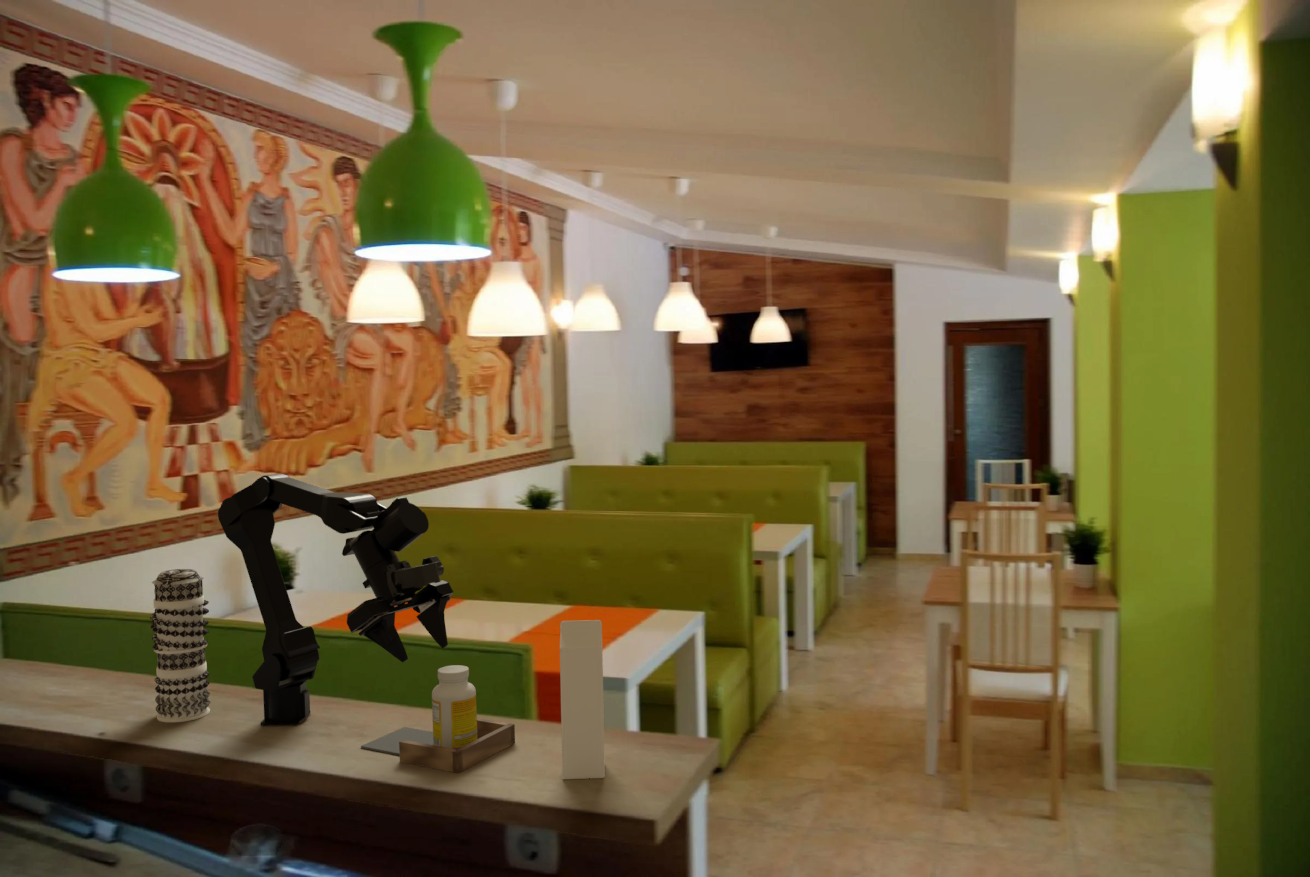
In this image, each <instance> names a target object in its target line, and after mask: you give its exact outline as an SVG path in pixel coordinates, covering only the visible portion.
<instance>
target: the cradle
mask: <svg viewBox="0 0 1310 877" xmlns="http://www.w3.org/2000/svg"><path fill="white" fill-rule="evenodd" d="M514 744H516V728H515V723H509V722H502V721H498V720H492V719H486V718H479V717H477V740H475V741H473V742H471V743H469V744H467V745H465V746H463V747H461V748H459V749H451V748H446V747H441V746H435V745H430V744H424V743H419V742H414V741H408V740H402V741H400V742H399V752H400V755H399V762H400V763H406V764H410V765H414V766H415V765H416V766H421V767H425V768H430V769H436V770H441V771H446V772H450V771H451V772H450V773H454V774H455V773H456V774H460V773H462V772H463V771H465V770H467V769H469V768H471V767H473V766H475V765H476V764H479V763H480V762H482V761H484V760H486V759H488V758H489V757H491V756H494V755H495V754H498V753H499V752H501V751H503V750H505V749H506V748H509V747H510V746H513V745H514Z"/></svg>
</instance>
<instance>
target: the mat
mask: <svg viewBox="0 0 1310 877" xmlns="http://www.w3.org/2000/svg"><path fill="white" fill-rule="evenodd" d="M402 740H408V741H414V742H419V743H424V744H430V745H433V731H429V730H423V729H418V728H414V727H407V726H403V727H401V728H399V729H396V730H394V731H391V732H390V733H388V734H385V735H383V736H380V737H378V738H376V739H373V740H371V741H369V742H367V743H365V744H362V745H360V748H361V749H363V750H364V749H365V750H369V751H370V750H371V751H374V752H378V753H379V752H380V753H384V754H390V755H395V756H400V752H399V742H400V741H402Z"/></svg>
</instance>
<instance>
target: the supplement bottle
mask: <svg viewBox="0 0 1310 877" xmlns="http://www.w3.org/2000/svg"><path fill="white" fill-rule="evenodd" d="M469 676H470V669H469V667H468V666H466V665H461V664H460V665H459V664H456V665H455V664H454V665H453V664H451V665H445V666H443V667H440V668H438V669H437V679H438V681H439V684H437V685H435V686H434V688H433V689H432V691H431V708H432V711H431V712H432V732H433V745H435V746H441V747H446V748H451V749H459V748H461V747H463V746H465V745H467V744H469V743H471V742H473V741H475V740H477V718H478V716H477V714H478V713H477V690H476V687H475V686H474V684H473V683H471V682H469V681H468V680H469Z"/></svg>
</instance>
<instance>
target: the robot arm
mask: <svg viewBox="0 0 1310 877" xmlns="http://www.w3.org/2000/svg"><path fill="white" fill-rule="evenodd" d="M283 505H286V506H288V507H291V508H294V509H296V510H299V511H302V512H305V513H308V514H311V515H314V516H316V517H319V518H320V519H321V521H322V523H323V524H324V525H325V527H328V528H329V529H331V530H333V531H335V532H336V533H339V534H350V533H355V532H360V531H362V532H361V533H359V535H357V536H354V537H347V538H346V539H345V544H344V546H343V548H342V552H341V555H342V556H343V557H346V556H350V555H351V556H352V555H354V556H355V558H356V561H357V562H358V564H359V567H360V568H361V570H362V573H363V574H364V577H365V578H366V580H364V581H363V582H362V585H363V588H364V589H368V588H370V589H372V592H373V594H374V597H375V598H371V599H367V600H366V599H365V600H364V601H363V602H362V603H360V604H359V605H358V606H357V607H355V608H354V609H352V610H351V611H349V613H347V615H346V616H347V617H346V625H347V627H348V629H349V631H350V632H351V634H354V633H357V632H358V635H359V637H365V638H367V639H369V640H370V641H372V642H373V643H375V644H376V645H378V646H380V647H381V648H382V649H383V650H385V651H387V652H388V653H389V654H390V655H392V656H393V657H395V659H397V660H399V661H400V662H401V663H405V662H407V661H408V660H409V657H408V653H407V651H406V648H405V646H404V644H403V642H402V639H401V637H400V635H399V633H398V630H397V629H396V625H395V621H396V620H395V619H396V613H399V612H403V611H407V610H410V609H413V610H414V611H415V612H416V613H418V614H417V615H416V616H415V617H416V618H417V620H418V622H420V624H421V625H422V626H423V628H425V630H426V631H427V632H428V633H429V635H430V636H431V637H432V639H433V640H434V641H435V643H437V645H438V646H439V647H440V648H441V649H445V648H446V647H448V645H449V643H448V642H449V641H448V634H447V628H446V619H445V609H446V606H447V603H448V602H450V601H451V596H452V595H454V590H453V588H452V586H451V584H450V582H448V581H445V580H440V576H442V575H443V574H444V572H445V571H444V569H445V568H444V566H443V563H442V561H441V560H440V559H439V557H438V556H437V555H435V556H430V557H429V556H428V557H425V558H423V559H422V562H421V564H420V565H417V566H413V567H412V566H411V564H410V563H409V561H407V560H400V558H399V556H398V554H397V552H402V551H403V550H405V549H406V548H408V547H409V546H410V545H411V544H413V543H414V542H415V541H416V540H418V539H419V538H420V537H422V536H423V535H424V534H425V533H426V532H428V530H429V524H430V523H429V519H428V516H427V514H426V512H424V511H423V510H422V509H420V508H419V507H418V506H417V505H415V504H413V503H411V502H410V501H409V499H408V498H407V497H406V496H403V497H402V496H401V497H397V498H395V499H394V500H393V501H392V502H391V504H390V505H389V506H388V507H387V506H385V505H383V504H381V503H380V502H377V498H376V497H375V496H373V495H372V494H370V493H359V492H337V491H332V490H329V489H325V488H324V487H319V486H317V485H313V484H310V483H307V482H304V481H301V480H298V479H295V478H292V477H290V476H289V475H287V474H285V473H276V474H265V475H262V476H260V477H259V478H257V479H256V480H255V481H254V482H252V483H251V484H250V485H248V486H246V487H244V488H242V489H241V490H239V491H237V492H236V493H234V494H232V495H231V496H230V497H229V496H228V497H226V498H225V499H224V500H222V503H221V504H220V507H219V509H218V510H217V517H218V520H219V524H220V525H221V528H222V530H223V532H224V535H225V536H226V538H227V539H228V540H229V541H230V542H232V544H233V545H235V546H236V547H237V548H238V549H239V550H240V552H241V555H242V557H243V562H244V564H245V567H246V571H247V574H248V577H249V580H250V583H251V587H252V589H253V594H254V596H255V599H256V602H257V606H258V608H259V611H260V615H261V618H262V621H263V624H264V627H265V635H264V639H263V643H262V646H261V651H262V656H263V661H262V663H261V665H259V667H258V669H256V671H255V672H254V673H253V675H252V681H253V685H254V688H255V689H256V690H260V691H261V690H262V692H263V693H262V695H263V696H262V698H263V717H264V718H263V719H262V720H261V721H260V722H259V724H260V726H298V725H300V724H301V723H302V722H303V721H304V720H305V719H306V718H308V716H309V715H311V712H312V711H311V701H310V700H311V699H310V698H311V697H310V695H311V694H310V690H309V689H307V681H309V680H310V681H311V680H314V677H315V673H316V669H317V664H318V662H319V661H320V652H319V649H320V648H321V647H320V645H319V644H318V641H317V640H316V634H315V630H314V628H313V627H312V626H311V625H308V626H303V625H302V624H301V623H300V622H299V621H297V618H296V615H295V612H294V609H293V606H292V605H293V604H292V603H291V600H290V597H289V594H288V589H287V587H286V585H285V581H284V577H283V574H282V571H281V569H280V566H279V563H278V562H279V561H278V559H277V556H276V553H275V550H274V546H273V544H272V537H273V534H274V530H275V526H276V525H275V524H276V521H275V517H274V515H275V514H276V513H277V511H279V510H280V509H281V508H282V507H283ZM371 529H372V530H371Z"/></svg>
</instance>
